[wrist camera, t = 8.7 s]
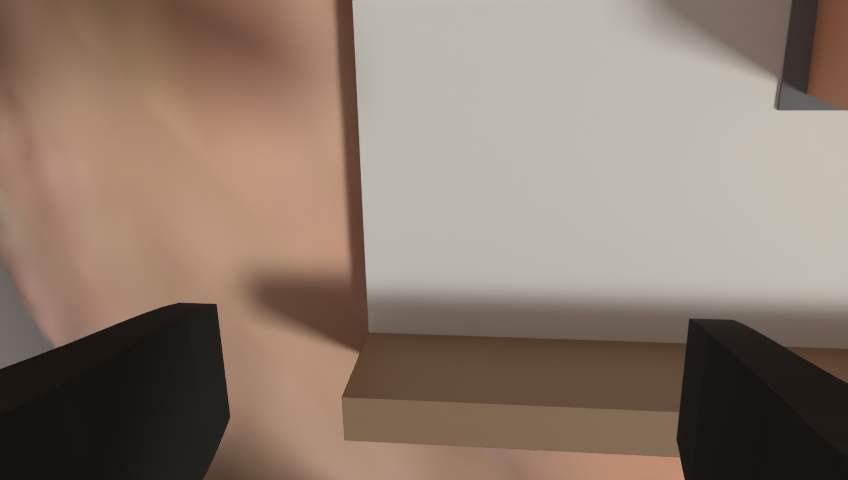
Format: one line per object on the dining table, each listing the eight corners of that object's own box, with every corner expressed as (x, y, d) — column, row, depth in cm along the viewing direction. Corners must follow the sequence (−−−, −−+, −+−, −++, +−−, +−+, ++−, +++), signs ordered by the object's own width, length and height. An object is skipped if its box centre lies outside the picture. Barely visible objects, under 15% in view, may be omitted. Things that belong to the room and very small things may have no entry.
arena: (1117, 388, 20) (1260, 486, 16) (374, 360, 22) (344, 440, 18) (1348, -332, 15) (1643, -441, 11) (344, -271, 17) (294, -343, 13)
